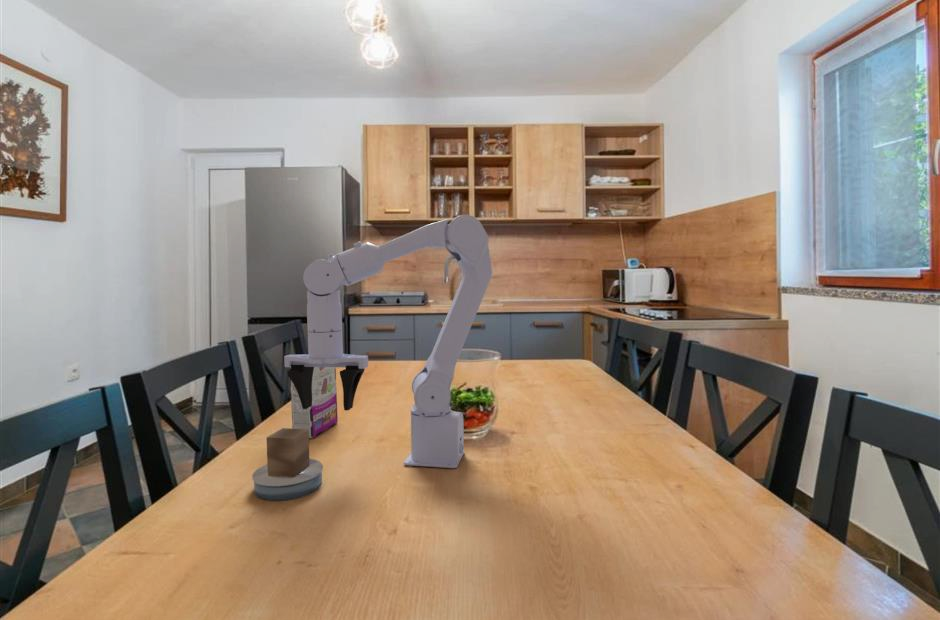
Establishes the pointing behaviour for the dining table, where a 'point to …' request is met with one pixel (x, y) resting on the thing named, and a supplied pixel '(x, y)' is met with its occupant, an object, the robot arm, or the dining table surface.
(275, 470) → the walnut block
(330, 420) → the candy bar box
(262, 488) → the biscuit tin
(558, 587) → the dining table surface
